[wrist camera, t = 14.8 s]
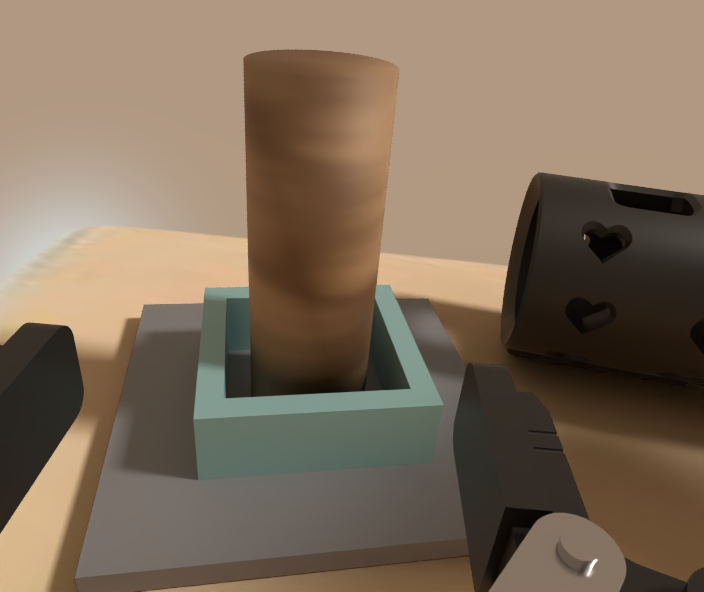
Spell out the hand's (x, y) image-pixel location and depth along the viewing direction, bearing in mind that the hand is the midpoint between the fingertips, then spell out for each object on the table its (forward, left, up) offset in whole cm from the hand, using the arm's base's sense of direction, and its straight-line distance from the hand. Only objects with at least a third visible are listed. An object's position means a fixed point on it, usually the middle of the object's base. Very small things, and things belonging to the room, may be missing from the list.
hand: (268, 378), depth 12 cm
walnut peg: (-2, -10, -9) cm, 14 cm away
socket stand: (-2, -11, -10) cm, 15 cm away
